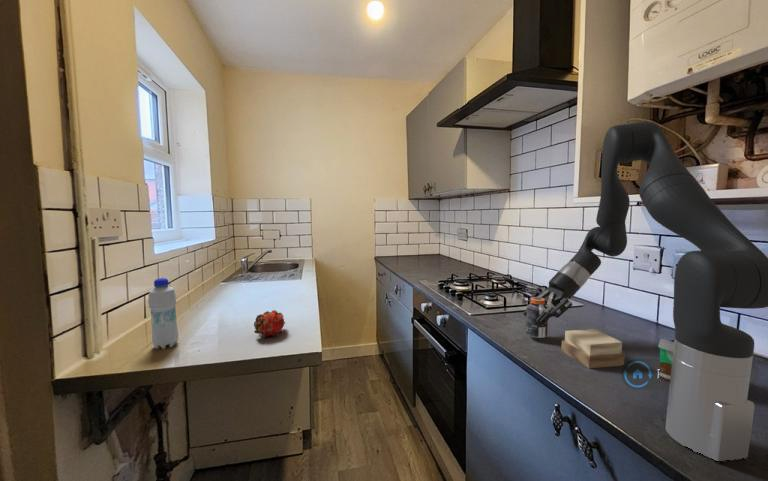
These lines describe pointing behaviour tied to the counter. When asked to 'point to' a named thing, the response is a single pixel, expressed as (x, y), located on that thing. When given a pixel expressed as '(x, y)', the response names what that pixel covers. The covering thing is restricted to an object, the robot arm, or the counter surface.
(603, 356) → the tower base
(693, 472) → the counter surface
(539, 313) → the pill bottle
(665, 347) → the food container
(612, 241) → the robot arm
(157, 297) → the bottle
